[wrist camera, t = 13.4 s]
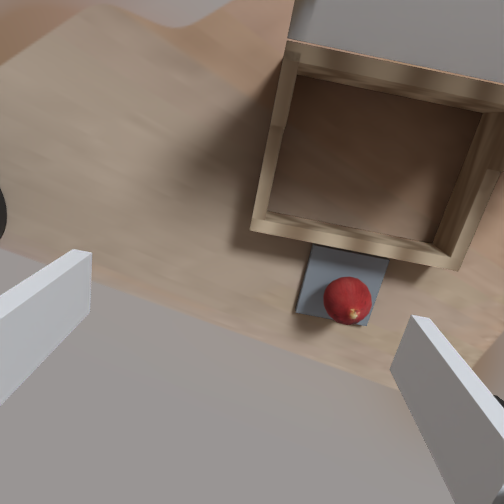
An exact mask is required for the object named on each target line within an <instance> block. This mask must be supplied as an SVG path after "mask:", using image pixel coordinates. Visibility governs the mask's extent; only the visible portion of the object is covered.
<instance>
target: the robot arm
mask: <svg viewBox="0 0 504 504" xmlns="http://www.w3.org/2000/svg"><path fill="white" fill-rule="evenodd" d="M6 217H7V213H6V205H5V200H4V197H3V194H2V191H1V189H0V238H1V236H2V234H3V232H4V229H5V225H6ZM91 272H92V253H91V252H86V251H81V250H76V249H72V250H71V251H69V252H68V253H66V254H65V255H63V256H61V257H60V258H58V259H57V260H55V261H54V262H52V263H50V264H49V265H47V266H46V267H44V268H43V269H41V270H40V271H38V272H37V273H35V274H33V275H32V276H30V277H29V278H27V279H25V280H24V281H22V282H21V283H19V284H18V285H16V286H14V287H13V288H11V289H10V290H8V291H6V292H5V293H3V294H2V295H0V406H1V405H2V404H3V403H4V401H6V400H7V398H9V396H10V395H11V394H12V393H13V392H14V391H15V390H16V389H17V388H18V387H19V386H20V385H21V384H22V383H23V382H24V381H25V380H26V379H27V378H28V377H29V376H30V374H31V373H32V372H33V371H34V370H35V369H36V368H37V367H38V366H39V365H40V364H41V363H42V362H43V361H44V360H45V359H46V358H47V357H48V356H49V355H50V354H51V352H52V351H53V350H54V349H55V348H56V347H57V346H58V345H59V344H60V343H61V342H62V341H63V340H64V339H65V338H66V337H67V336H68V335H69V334H70V332H72V331H73V329H74V328H75V327H76V326H77V325H78V324H79V323H80V322H81V321H82V320H83V319H84V318H85V317H86V316H87V315H88V314H89V312H90V299H91V298H90V297H91ZM390 371H391V373H392V375H393V377H394V379H395V381H396V383H397V385H398V388H399V390H400V392H401V394H402V396H403V398H404V400H405V402H406V404H407V406H408V408H409V410H410V412H411V414H412V416H413V418H414V420H415V422H416V424H417V426H418V428H419V430H420V433H421V435H422V436H423V439H424V441H425V443H426V445H427V447H428V449H429V451H430V453H431V455H432V457H433V459H434V461H435V463H436V465H437V467H438V469H439V471H440V473H441V475H442V477H443V480H444V482H445V484H446V486H447V488H448V490H449V492H450V494H451V496H452V498H453V500H454V502H455V504H504V401H503V400H502V399H500V398H499V397H498V396H495V395H492V393H491V392H490V391H489V390H488V389H487V387H486V386H485V385H484V384H483V383H482V381H481V380H480V379H479V378H478V376H477V375H476V374H475V373H474V372H473V370H472V369H471V368H470V367H469V366H468V364H467V363H466V362H465V361H464V359H463V358H462V357H461V356H460V355H459V353H458V352H457V351H456V350H455V349H454V347H453V346H452V345H451V344H450V342H449V341H448V340H447V339H446V338H445V336H444V335H443V334H442V333H441V332H440V330H439V329H438V328H437V327H436V325H435V324H434V323H433V322H432V321H431V319H430V318H426V317H421V316H416V315H411V317H410V319H409V322H408V324H407V327H406V329H405V332H404V334H403V337H402V339H401V342H400V344H399V347H398V349H397V352H396V354H395V357H394V360H393V362H392V365H391V367H390Z"/></svg>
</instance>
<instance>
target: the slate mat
mask: <svg viewBox="0 0 504 504" xmlns="http://www.w3.org/2000/svg"><path fill="white" fill-rule="evenodd" d="M389 261H390V260H389V259H388V258H387V257H382V256H377V255H372V254H367V253H362V252H356V251H351V250H346V249H341V248H336V247H331V246H326V245H321V244H316V243H313V245H312V249H311V252H310V256H309V260H308V264H307V267H306V271H305V275H304V279H303V283H302V286H301V290H300V294H299V298H298V301H297V305H296V313H301V314H306V315H312V316H317V317H322V318H327V319H332V318H331V317H330V316H329V315H328V313H327V311H326V309H325V307H324V301H323V295H324V292H325V289H326V287H327V286H328V285H329V284H330V283H331V282H332V281H334V280H336V279H338V278H341V277H354V278H358V279H359V280H360V281H362V282H363V283H364V284H365V285H366V286H367V287H368V289H369V291H370V294H371V298H372V307H371V309H370V312H369V314H368V315H367V316H366V317H365V318H364V319H363V320H361V321H360V322H358V323H357V324H358V325H363V326H367V323H368V321H369V318H370V315H371V312H372V309H373V306H374V303H375V301H376V298H377V295H378V292H379V289H380V286H381V283H382V281H383V278H384V275H385V272H386V269H387V266H388V263H389ZM332 320H334V319H332Z"/></svg>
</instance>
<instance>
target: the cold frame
mask: <svg viewBox="0 0 504 504" xmlns="http://www.w3.org/2000/svg"><path fill="white" fill-rule="evenodd" d="M297 75H302V76H306V77H311V78H316V79H321V80H326V81H331V82H335V83H340V84H345V85H350V86H355V87H360V88H364V89H369V90H374V91H379V92H384V93H389V94H393V95H398V96H403V97H408V98H413V99H418V100H422V101H427V102H432V103H437V104H442V105H447V106H451V107H456V108H461V109H466V110H471V111H475V112H480V113H483V114H482V117H481V120H480V122H479V125H478V127H477V130H476V132H475V135H474V138H473V140H472V143H471V145H470V148H469V150H468V153H467V156H466V158H465V161H464V163H463V166H462V168H461V171H460V174H459V176H458V179H457V181H456V184H455V186H454V189H453V192H452V194H451V197H450V199H449V202H448V204H447V207H446V210H445V212H444V215H443V217H442V220H441V222H440V225H439V228H438V230H437V233H436V235H435V238H434V240H433V243H432V244H431V243H426V242H421V241H416V240H411V239H406V238H401V237H396V236H391V235H386V234H381V233H376V232H371V231H366V230H361V229H356V228H351V227H346V226H340V225H335V224H330V223H325V222H320V221H315V220H310V219H305V218H300V217H295V216H290V215H285V214H280V213H275V212H270V211H267V207H268V203H269V198H270V193H271V188H272V184H273V179H274V174H275V169H276V165H277V160H278V155H279V150H280V146H281V141H282V136H283V131H284V128H286V123H287V118H288V114H289V109H290V104H291V99H292V95H293V90H294V85H295V80H296V76H297ZM501 172H504V86H503V85H498V84H493V83H489V82H484V81H479V80H474V79H469V78H465V77H460V76H455V75H450V74H445V73H441V72H436V71H431V70H426V69H422V68H417V67H412V66H407V65H402V64H398V63H393V62H388V61H383V60H378V59H374V58H369V57H364V56H359V55H354V54H350V53H345V52H340V51H335V50H331V49H326V48H321V47H316V46H311V45H307V44H302V43H297V42H292V41H287V42H286V47H285V52H284V57H283V62H282V67H281V72H280V77H279V82H278V87H277V93H276V98H275V103H274V108H273V113H272V118H271V123H270V128H269V133H268V138H267V143H266V149H265V154H264V159H263V164H262V169H261V174H260V179H259V184H258V189H257V194H256V199H255V204H254V210H253V215H252V220H251V225H250V231H255V232H260V233H265V234H271V235H276V236H281V237H286V238H291V239H296V240H301V241H306V242H311V243H316V244H321V245H326V246H331V247H336V248H342V249H347V250H352V251H357V252H362V253H367V254H372V255H377V256H382V257H387V258H392V259H397V260H402V261H407V262H413V263H418V264H423V265H428V266H433V267H438V268H443V269H448V270H453V271H459V269H460V267H461V264H462V262H463V260H464V257H465V255H466V253H467V250H468V248H469V246H470V243H471V241H472V239H473V236H474V234H475V232H476V229H477V227H478V225H479V222H480V220H481V218H482V215H483V213H484V211H485V208H486V206H487V203H488V201H489V199H490V196H491V194H492V192H493V189H494V187H495V185H496V182H497V180H498V178H499V175H500V173H501Z"/></svg>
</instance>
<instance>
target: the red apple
mask: <svg viewBox="0 0 504 504" xmlns="http://www.w3.org/2000/svg"><path fill="white" fill-rule="evenodd" d="M323 301H324V307H325V309H326V311H327V313H328V315H329V316H330V317H331V318H332V319H334V320H335V321H336V322H338V323H342V324H345V325H351V324H357V323H358V322H360V321H361V320H363V319H364V318H365V317H366V316H367V315H368V314H369V312H370V309H371V307H372V298H371V294H370V291H369V289H368V287H367V286H366V285H365V284H364V283H363V282H362V281H360V280H359V279H358V278H354V277H341V278H338V279H336V280H334V281H332V282H331V283H330V284H329V285H328V286H327V287H326V289H325V292H324V295H323Z"/></svg>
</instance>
